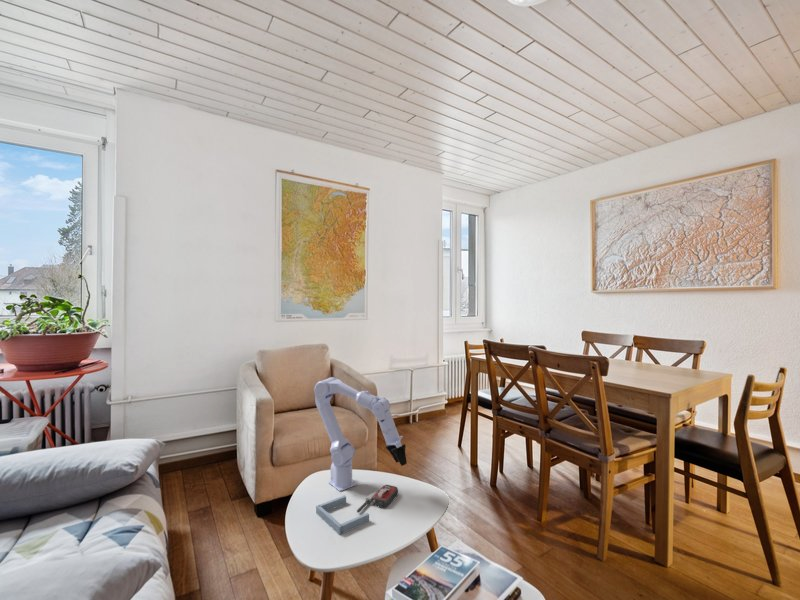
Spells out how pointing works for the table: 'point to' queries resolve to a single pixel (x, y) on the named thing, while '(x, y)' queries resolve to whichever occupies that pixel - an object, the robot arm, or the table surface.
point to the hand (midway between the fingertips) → (401, 463)
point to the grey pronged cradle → (333, 523)
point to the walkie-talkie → (381, 497)
